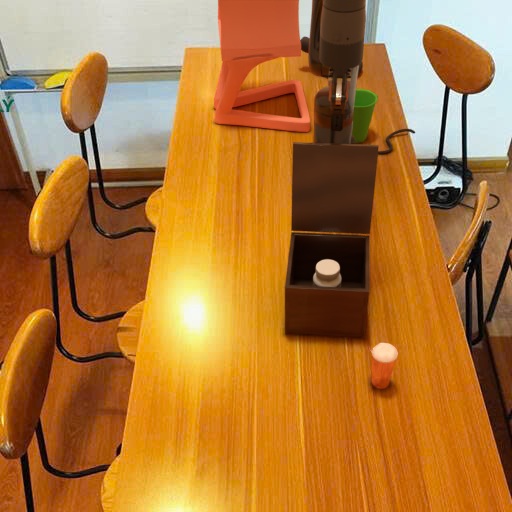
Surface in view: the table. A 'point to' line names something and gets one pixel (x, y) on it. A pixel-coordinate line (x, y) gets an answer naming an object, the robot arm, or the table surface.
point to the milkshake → (383, 364)
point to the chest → (327, 298)
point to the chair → (257, 60)
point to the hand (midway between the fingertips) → (336, 128)
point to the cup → (363, 113)
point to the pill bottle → (327, 274)
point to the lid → (333, 187)
